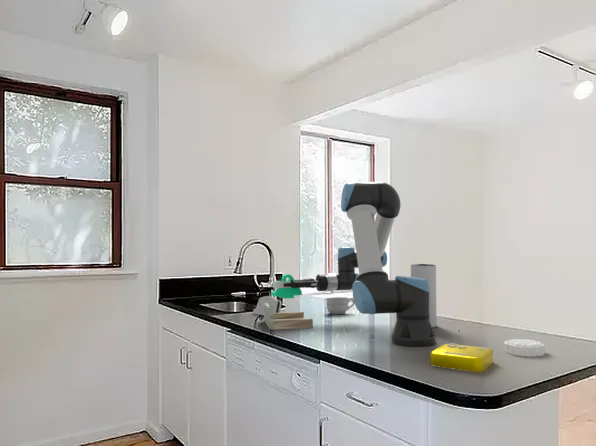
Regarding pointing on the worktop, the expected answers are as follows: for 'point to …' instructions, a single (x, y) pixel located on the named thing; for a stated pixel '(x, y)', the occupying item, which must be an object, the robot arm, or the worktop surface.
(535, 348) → the mooncake
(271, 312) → the dock
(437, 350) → the element tile
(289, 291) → the camera mount
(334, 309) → the teacup
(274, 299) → the grey rounded piece
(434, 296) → the speaker
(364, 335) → the worktop surface
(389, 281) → the robot arm
